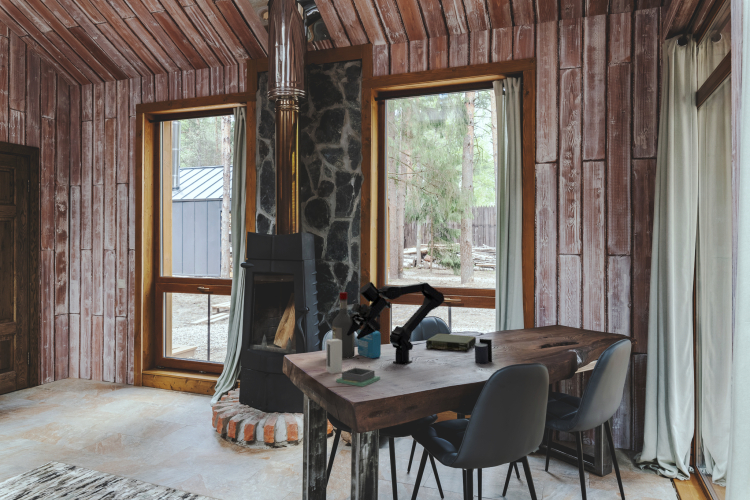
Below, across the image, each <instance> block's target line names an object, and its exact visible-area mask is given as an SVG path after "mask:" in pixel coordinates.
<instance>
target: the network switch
mask: <svg viewBox="0 0 750 500" xmlns="http://www.w3.org/2000/svg"><path fill="white" fill-rule="evenodd" d="M475 343H477V338H476V336H473V335H460V334H450V333H436V334H435V335H433V336H431V337H430V338H428V339H427V340H426V341H425V345H426V346H425V347H426V349H427V350H429V349H434V350H436V349H437V350H444V351H446V350H448V351H451V350H452V351H460V352H463V351H464V352H465V353H467V352H468V351H469V350H470V349H471V348H473V347H475V345H474V344H475Z"/></svg>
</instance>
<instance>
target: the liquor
mask: <svg viewBox="0 0 750 500" xmlns="http://www.w3.org/2000/svg"><path fill="white" fill-rule="evenodd" d="M348 312H349V311H348V292H347V291H344V292H339V312H338V314H337V315H336V316H335V317H334V319H332V323H331V326H332V327H331V329H332V330H331V333H332V334H331V335H332V337H331V339H339V340H342V360H344V359H345V360H346V359H352V358H354V357H355V354H356V351H355V348H356V347H355V345H356V344H355V340H356V339H355V334H356V333H355V332H356V331H355V332H354V333H352V334H351V335H349V336H347V332H348V329H349V327H350V324H351V320H350V317H349V316H350V315H351V314H349V313H348Z"/></svg>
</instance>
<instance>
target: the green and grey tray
mask: <svg viewBox="0 0 750 500" xmlns="http://www.w3.org/2000/svg"><path fill="white" fill-rule="evenodd" d="M375 372H376V371H375V370H373V369H366V368H360V367H353V368H350V369H348V370H345V371H342V372H341V377H339V378H336V383H341V384H345V385H351V386H356V387H357V386H358V387H365V386H368V385H370V384H372V383H375V382H377V381H379V380H381V376H378V375H376V373H375Z"/></svg>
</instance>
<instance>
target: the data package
mask: <svg viewBox="0 0 750 500" xmlns="http://www.w3.org/2000/svg"><path fill="white" fill-rule="evenodd" d="M360 331H361V329H358V330H357V335H358V334H359V332H360ZM381 335H382V334H381V332H380V331H379V330H378V331H376V332H373V333H371V334H369V335H367V336H364V337H362V338H360V339H357V355H359V356H361V357H364V358H365V357H366V358H368V357H369V358H368V359H375V358H376V359H377V358H380V357H381V354H382V353H381V352H382V351H381V350H382V345H381V344H382V343H381V341H382V339H381V338H382V336H381Z"/></svg>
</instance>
